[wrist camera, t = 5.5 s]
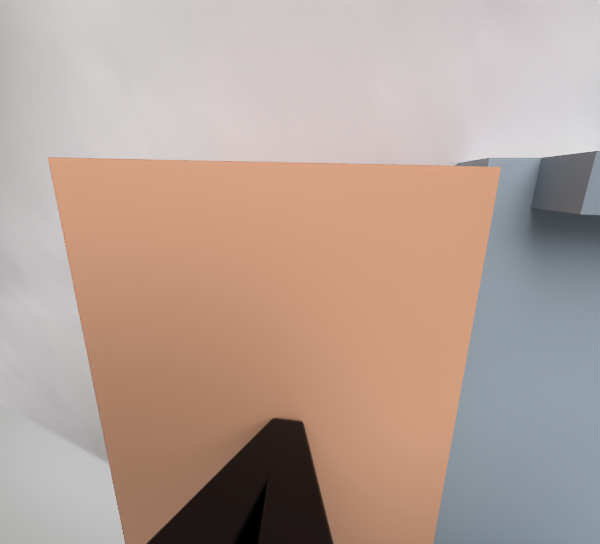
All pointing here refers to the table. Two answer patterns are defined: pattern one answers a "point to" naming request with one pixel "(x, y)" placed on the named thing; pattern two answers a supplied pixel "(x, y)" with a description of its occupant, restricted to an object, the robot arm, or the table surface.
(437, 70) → the table surface
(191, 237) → the panel
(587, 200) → the truck bed
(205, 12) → the table surface
